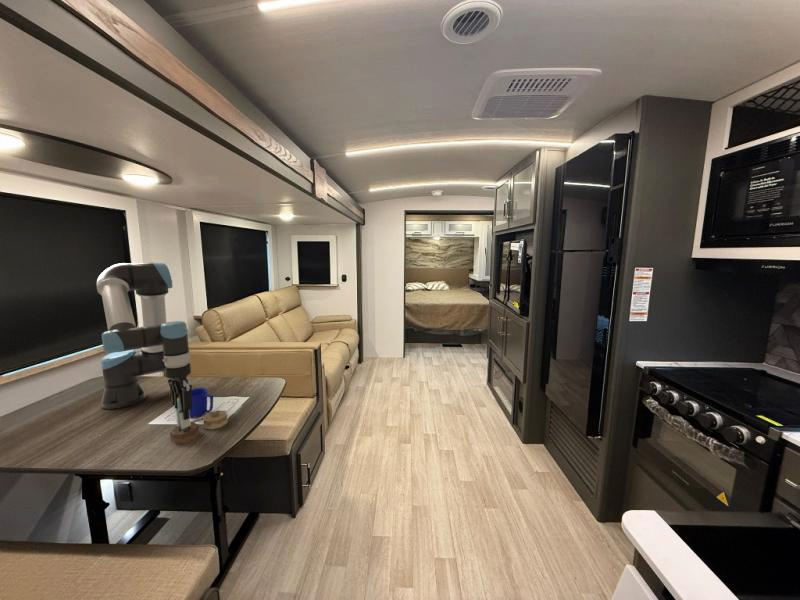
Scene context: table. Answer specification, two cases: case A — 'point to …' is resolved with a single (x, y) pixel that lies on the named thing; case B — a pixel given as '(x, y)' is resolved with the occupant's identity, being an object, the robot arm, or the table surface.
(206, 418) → the maple bead
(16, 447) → the table surface
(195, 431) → the walnut bead
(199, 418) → the thin beige rod
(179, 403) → the teal rod
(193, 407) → the mug
